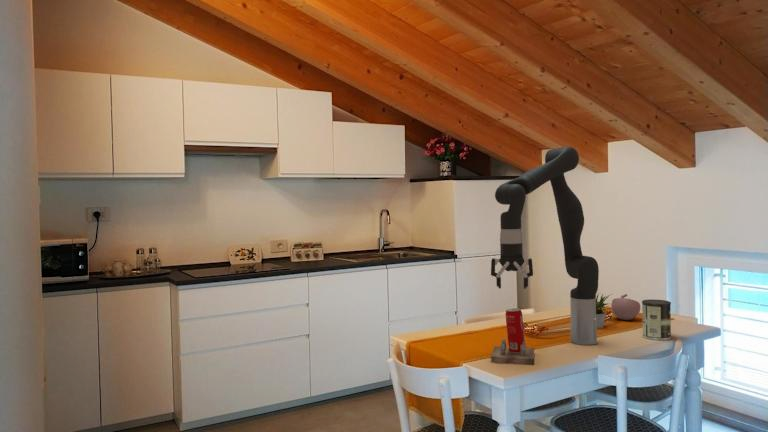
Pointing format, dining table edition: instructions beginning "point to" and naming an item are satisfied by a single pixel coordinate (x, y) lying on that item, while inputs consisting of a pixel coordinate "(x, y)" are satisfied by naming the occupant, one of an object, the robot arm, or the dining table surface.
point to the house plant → (600, 311)
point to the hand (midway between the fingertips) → (512, 288)
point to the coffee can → (656, 319)
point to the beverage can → (515, 330)
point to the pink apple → (625, 308)
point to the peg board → (512, 354)
